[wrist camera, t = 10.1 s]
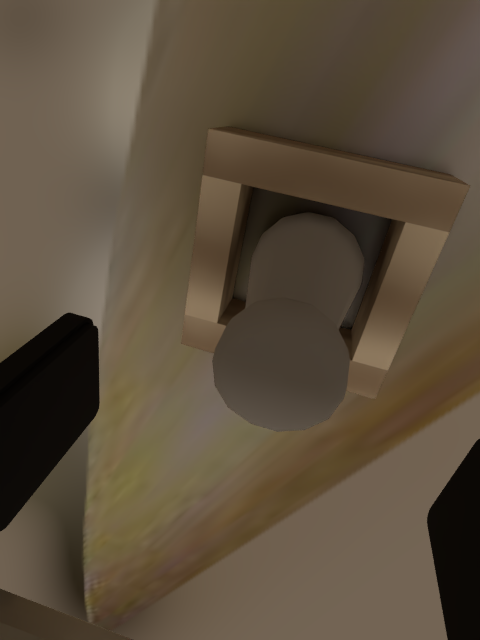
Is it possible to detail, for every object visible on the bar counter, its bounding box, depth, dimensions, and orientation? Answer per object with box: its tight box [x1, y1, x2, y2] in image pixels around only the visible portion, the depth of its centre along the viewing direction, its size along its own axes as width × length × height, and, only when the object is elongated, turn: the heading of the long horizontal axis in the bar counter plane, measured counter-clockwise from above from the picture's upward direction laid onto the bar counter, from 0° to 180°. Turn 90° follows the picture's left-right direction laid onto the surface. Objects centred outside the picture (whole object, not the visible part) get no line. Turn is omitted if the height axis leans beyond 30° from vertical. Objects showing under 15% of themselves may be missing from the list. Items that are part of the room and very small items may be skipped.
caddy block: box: [181, 127, 470, 399], centre depth 21 cm, size 12×11×4 cm
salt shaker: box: [212, 212, 365, 432], centre depth 17 cm, size 6×6×13 cm
